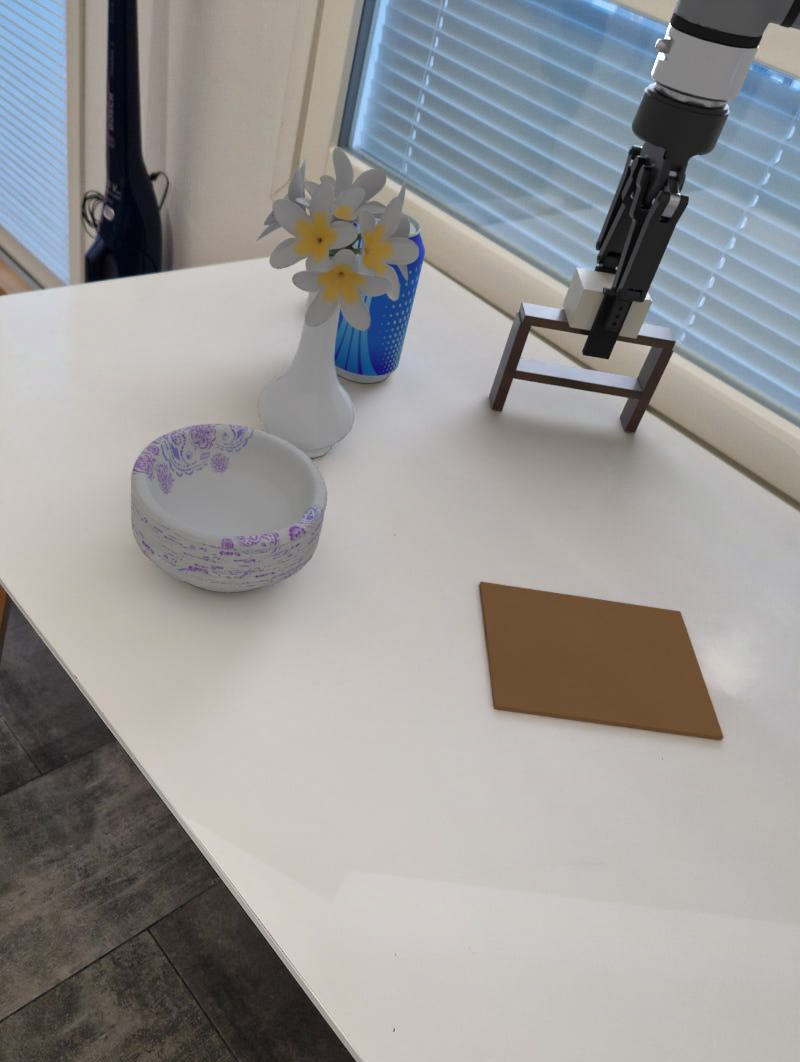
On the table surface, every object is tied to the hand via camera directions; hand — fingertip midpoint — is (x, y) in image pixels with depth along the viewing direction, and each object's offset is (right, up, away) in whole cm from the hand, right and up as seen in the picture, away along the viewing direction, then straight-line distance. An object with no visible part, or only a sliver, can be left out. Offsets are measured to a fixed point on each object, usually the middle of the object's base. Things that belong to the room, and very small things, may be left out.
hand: (590, 341), depth 94 cm
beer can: (-24, -1, +7) cm, 25 cm away
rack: (-1, -6, +6) cm, 9 cm away
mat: (-6, -33, -21) cm, 39 cm away
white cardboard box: (0, +2, -2) cm, 2 cm away
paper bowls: (-36, -24, -19) cm, 48 cm away
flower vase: (-30, -12, -6) cm, 33 cm away
